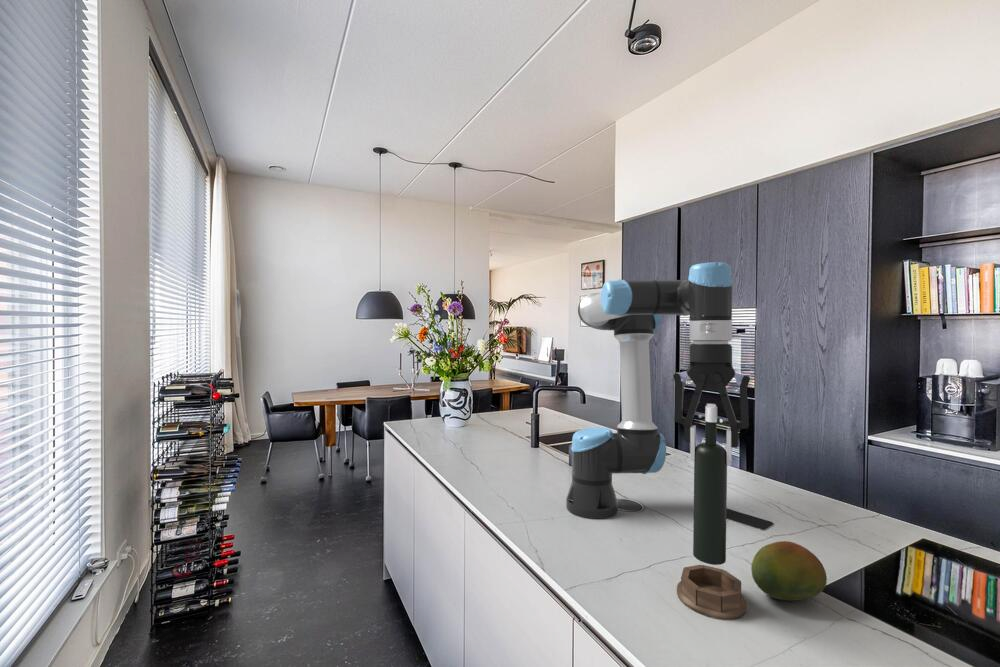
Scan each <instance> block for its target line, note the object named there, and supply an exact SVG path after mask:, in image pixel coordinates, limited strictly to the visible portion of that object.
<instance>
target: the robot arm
mask: <svg viewBox="0 0 1000 667" xmlns="http://www.w3.org/2000/svg"><path fill="white" fill-rule="evenodd" d="M688 274H689V275H688V279H682V280H681V279H674V280H672V279H668V280H667V279H660V280H659V279H655V280H652V279H651V280H640V279H639V280H638V279H637V280H635V279H634V280H631V279H630V280H629V279H616V280H607V281H605V282H604V283H603V285H602V287H601V291H600V292H592V293H589V294H587V295H585V296H584V297H583V298H582V299H581V300H580V302H579V303H578V307H577V315H578V317H579V320H580V321H581V322H582V323H583V324H584V325H586V326H587V327H588V328H589V327H590V328H592V329H595V330H598V331H599V330H600V331H613V337H614V338H615V340H617V341H618V343H619V365H620V366H619V369H620V371H619V372H620V397H621V398H620V399H621V400H620V401H621V421H620V423H618V424H617V425H616V430H617V431H616V432H613V431H612V429H611V428H609V427H606V426H603V427H600V426H596V427H595V426H593V427H587V428H583V429H582V428H581V429H580V430H577V431H576V432H574V433H573V435H572V441H571V447H570V448H571V478H572V479H571V484H570V486H569V488H568V489H569V490H568V493H567V496H566V499H565V501H566V502H565V507H566V509H567V510H568V512H570V513H572V514H573V515H575V516H578V517H582V518H588V519H606V518H607V519H608V518H611V517H613V516H616V515H617V514H618V513H619V501H618V498H617V494H616V492H615V488H614V486H613V474H642V475H646V474H655V473H658V472H660V471H661V470H662V468H664V464H665V462H666V456H667V443H666V438H665V437H664V435H663V434H662V433H661V432H659V431H658V426H657V425H656V424H655V423H654V422H653V417H652V414H653V413H652V391H651V390H652V389H651V388H652V387H651V369H650V368H651V365H650V340H651V339H652V338H653V337H654V335H655V333H654V332H655V331H656V330H658V329H659V328H660V325H661V317H662V316H661V315H663V316H664V315H665V316H667V315H668V316H678V317H679V316H680V317H681V316H684V317H685V316H689V320H688V321H689V340H690V341H691V342H692V343H690V345H689V366H688V368H687V370H685V371H681V372H679V371H678V372H675V373H673V376H672V378H673V381H674V383H675V397H674V398H675V402H674V421H675V422H674V423H676V424H677V423H679V424H681V425H682V426H683V427H684V428H683V429H684V430H683V431H684V433H683V434H684V437H683V438H684V442H685V443H690V450H689V451H690V454H689V456H690V461H692V462H694V461H695V448H696V446H697V443H696V442H697V426H696V425H695V424H693V420H694V418H695V414H696V412H697V411H696V410H697V408H698V406H699V402H700V398H701V396H702V393H703V392H704V391H705V392H706V391H710V390H711V391H714V392H718V394H719V397H720V398H721V403H722V405H723V410H724V412H725V415H726V417H727V421H728V423H729V428H727V429H726V452H727V466H730V467H732V462H733V459H732V448H736V449H737V448H738V447H739V431H740V430H743V429H749V427H750V423H749V419H750V418H749V403H748V402H749V400H748V387H749V383H750V380H751V377H750V375H748V374H742V373H739V372H736V370H735V369H734V367H733V345H732V344H730V343H729V342H731V341H732V340H733V320H732V318H733V284H734V283H733V279H732V267H731V266H730V264H728V263H726V262H720V261H719V262H702V263H696V264H693V265H691V267H689V273H688ZM687 377H689V379H690V380H691V381H692V383H693V384H694V385H695V388H694V390H693V394H692V397H691V401H690V404H689V406H688V410H687V413H686V416H683V414H684V413H683V411H684V410H683V409H684V394H685V393H684V392H685V390H684V389H685V382H687ZM733 379H735V381H736V385H738V386H739V403H740V405H739V407H740V421H737V418H736V415H735V411H734V409H733V406H732V402H731V400H730V396H729V392H728V391H727V387H728V385H729V384H730V383H731V381H732V380H733Z"/></svg>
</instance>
